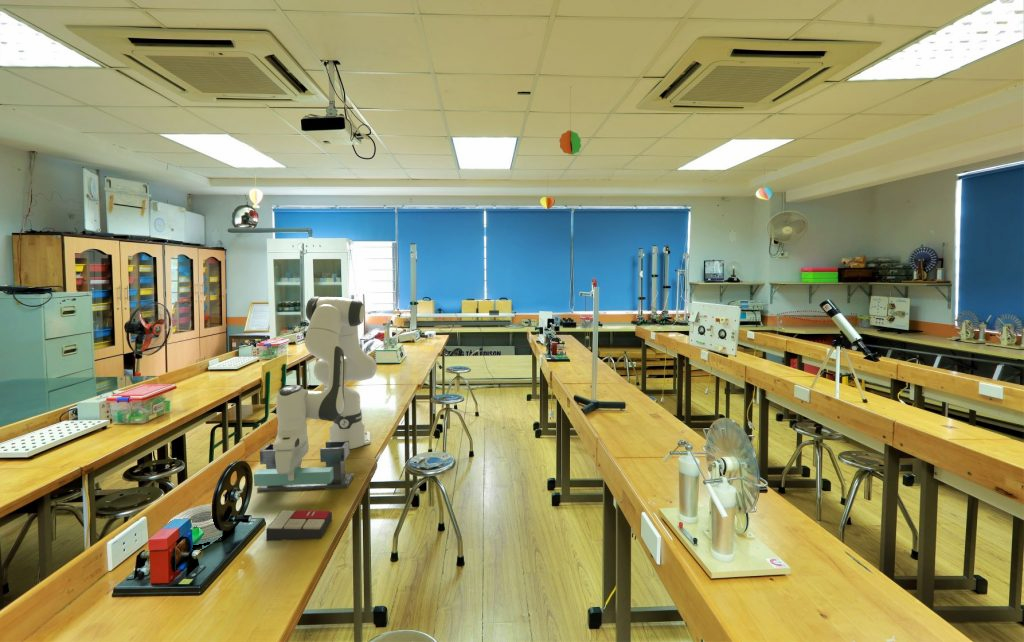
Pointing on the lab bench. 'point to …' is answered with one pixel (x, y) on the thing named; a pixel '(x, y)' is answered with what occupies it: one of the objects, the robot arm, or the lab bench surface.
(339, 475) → the bracket stand
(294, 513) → the large key keypad
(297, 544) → the lab bench surface
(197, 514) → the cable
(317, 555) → the lab bench surface
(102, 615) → the lab bench surface
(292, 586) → the lab bench surface
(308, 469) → the rail
